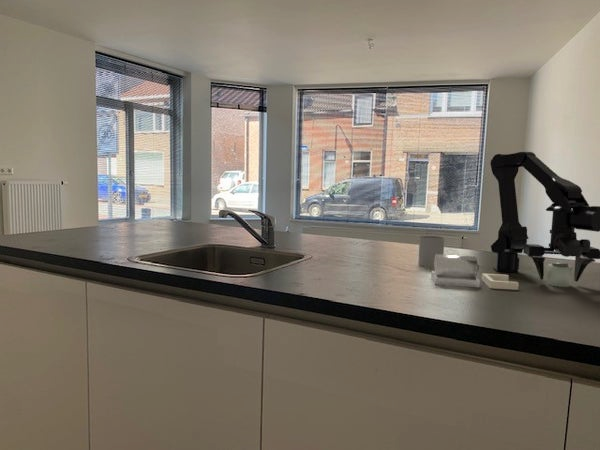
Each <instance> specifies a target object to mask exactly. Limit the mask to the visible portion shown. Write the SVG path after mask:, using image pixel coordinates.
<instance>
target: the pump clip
mask: <svg viewBox="0 0 600 450" xmlns="http://www.w3.org/2000/svg"><path fill="white" fill-rule="evenodd" d="M509 276H510V275H508V274H501V273H500V274H498V273H482V274H481V281H482V282H483V283H484V284H485V285H486V286H487V287H488V288H489V289H497V290H512V291H513V290H514V291H516V290H517V291H519V282H518V281H511V280H509V278H510V277H509Z"/></svg>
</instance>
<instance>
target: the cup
mask: <svg viewBox="0 0 600 450" xmlns="http://www.w3.org/2000/svg"><path fill="white" fill-rule="evenodd" d="M418 244H419V245H418V265H419V266H423V267H426V268H427V267H428V268H434V260H435V255H436V254H439V255H445V253H444V252H445V237H444V236H438V235H420V236H419V242H418Z"/></svg>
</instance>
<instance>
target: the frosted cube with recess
mask: <svg viewBox="0 0 600 450" xmlns="http://www.w3.org/2000/svg"><path fill="white" fill-rule="evenodd" d="M572 271H573V267H572V266H571V265H569V264H568V262H567V263H566V262H561V261H552V262H551V263H549V264H547V276H546V277H547V278H546V284H547V285H548V284H549V286H553V287H557V286H558V287H559V288H570V287H571V284H572V275H573V273H572Z"/></svg>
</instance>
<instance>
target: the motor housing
mask: <svg viewBox="0 0 600 450" xmlns="http://www.w3.org/2000/svg"><path fill="white" fill-rule="evenodd" d="M479 271H480V266H479V264H478V259H477V256H475V255H459V254H458V255H456V254H444V255H439V254H436V255H435V260H434V267H433V270H431V280H432V282H433V283H434V285H436V286H451V287H466V288H480V283H481V282H480V281H481V280H480V278H478V277H477V275H478V273H479Z"/></svg>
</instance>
